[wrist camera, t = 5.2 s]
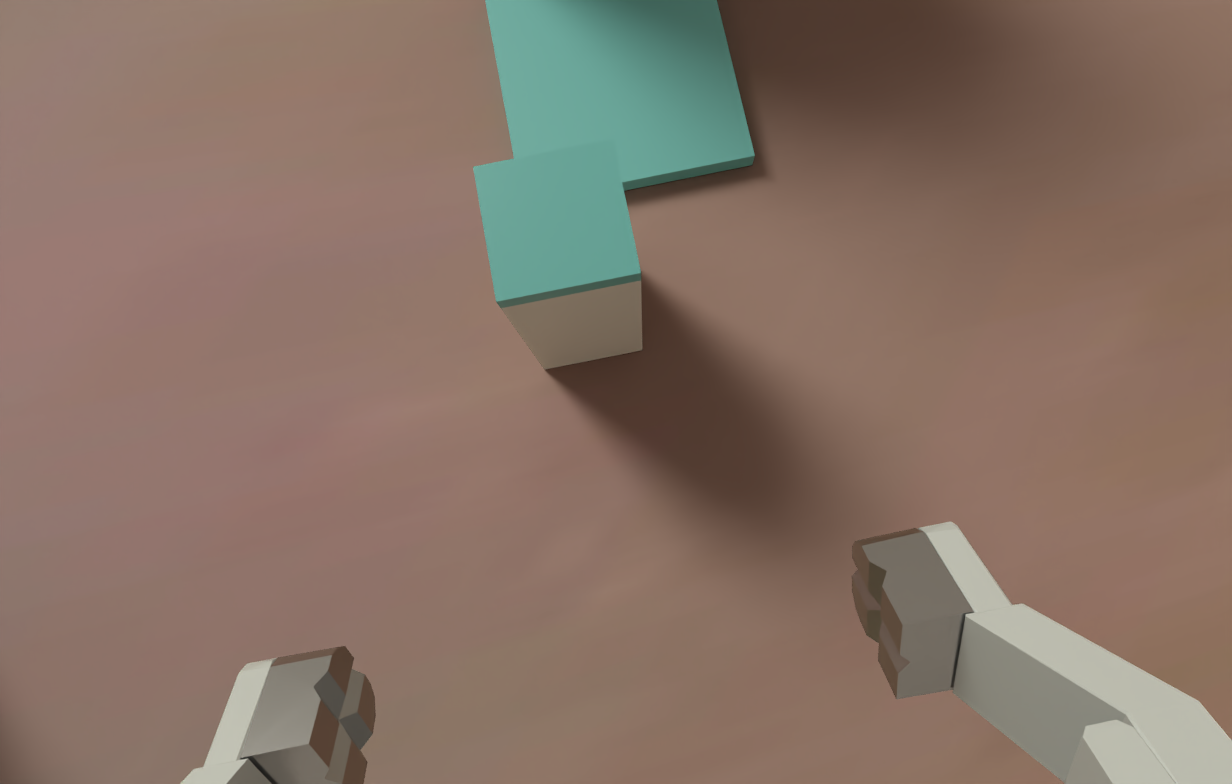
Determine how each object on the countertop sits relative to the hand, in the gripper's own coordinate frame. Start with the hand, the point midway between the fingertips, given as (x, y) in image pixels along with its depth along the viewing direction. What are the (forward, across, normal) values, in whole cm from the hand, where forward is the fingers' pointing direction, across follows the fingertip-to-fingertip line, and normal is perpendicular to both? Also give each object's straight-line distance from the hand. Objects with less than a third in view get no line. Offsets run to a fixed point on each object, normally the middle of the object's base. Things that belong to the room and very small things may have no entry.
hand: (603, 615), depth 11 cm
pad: (+33, -4, 0) cm, 34 cm away
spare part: (+25, 0, +8) cm, 26 cm away
